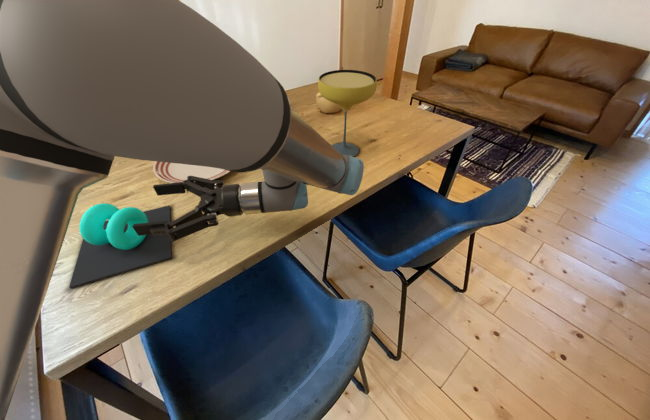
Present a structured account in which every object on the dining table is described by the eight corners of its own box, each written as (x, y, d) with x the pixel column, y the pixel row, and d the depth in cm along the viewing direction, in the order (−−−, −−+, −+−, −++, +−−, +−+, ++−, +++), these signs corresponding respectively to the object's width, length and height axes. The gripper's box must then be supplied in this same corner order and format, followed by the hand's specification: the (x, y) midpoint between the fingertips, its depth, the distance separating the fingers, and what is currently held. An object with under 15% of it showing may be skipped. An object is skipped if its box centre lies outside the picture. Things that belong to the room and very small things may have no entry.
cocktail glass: (377, 147, 102) (387, 75, 85) (351, 170, 91) (357, 92, 74) (337, 134, 110) (339, 66, 93) (309, 153, 99) (305, 80, 82)
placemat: (70, 288, 59) (68, 287, 58) (88, 227, 72) (87, 225, 72) (171, 258, 64) (170, 257, 64) (170, 206, 78) (169, 205, 78)
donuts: (123, 223, 72) (102, 194, 66) (157, 228, 71) (139, 199, 64) (92, 252, 65) (65, 223, 58) (129, 259, 64) (106, 229, 57)
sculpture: (322, 104, 133) (322, 80, 126) (346, 108, 129) (347, 84, 122) (312, 113, 125) (311, 88, 118) (337, 117, 122) (337, 92, 114)
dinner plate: (238, 141, 106) (236, 133, 104) (247, 181, 87) (244, 172, 84) (161, 153, 100) (157, 145, 97) (152, 199, 80) (147, 190, 78)
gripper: (241, 250, 58) (134, 262, 56) (248, 181, 76) (167, 188, 74) (233, 225, 53) (115, 237, 51) (242, 157, 71) (156, 164, 69)
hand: (146, 208), depth 62 cm, fingers open, 13 cm apart
